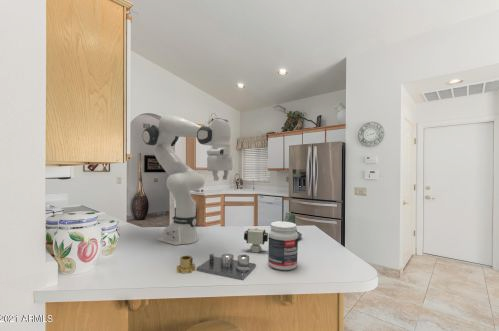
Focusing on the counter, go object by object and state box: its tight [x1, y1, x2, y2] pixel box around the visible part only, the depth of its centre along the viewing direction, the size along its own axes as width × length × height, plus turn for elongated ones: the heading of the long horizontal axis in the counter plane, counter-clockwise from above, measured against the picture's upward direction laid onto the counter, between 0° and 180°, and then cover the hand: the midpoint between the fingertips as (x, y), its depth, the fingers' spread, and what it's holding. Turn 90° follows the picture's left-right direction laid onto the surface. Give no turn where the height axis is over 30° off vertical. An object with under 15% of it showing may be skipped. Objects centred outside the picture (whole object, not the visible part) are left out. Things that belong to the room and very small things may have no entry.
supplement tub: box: [267, 220, 299, 271], centre depth 113 cm, size 13×13×18 cm
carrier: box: [196, 253, 257, 281], centre depth 108 cm, size 21×14×7 cm, turn 68°
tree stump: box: [268, 212, 302, 240], centre depth 154 cm, size 18×20×18 cm
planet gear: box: [176, 255, 197, 274], centre depth 106 cm, size 7×7×5 cm
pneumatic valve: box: [243, 227, 269, 254], centre depth 130 cm, size 6×12×12 cm, turn 78°
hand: (220, 180), depth 124 cm, fingers open, 8 cm apart
